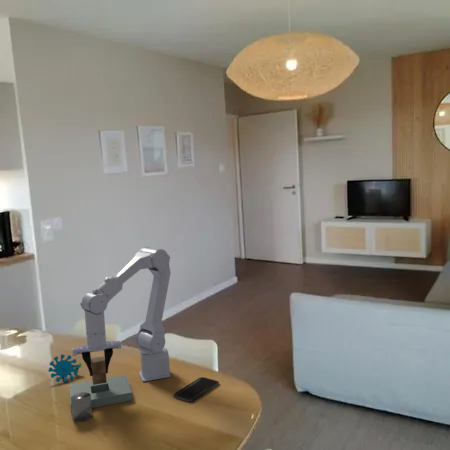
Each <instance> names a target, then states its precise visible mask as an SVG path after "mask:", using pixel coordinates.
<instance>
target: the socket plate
mask: <svg viewBox="0 0 450 450" xmlns="http://www.w3.org/2000/svg"><path fill="white" fill-rule="evenodd" d="M106 381H107V383H102V384H96V385H93V380H92V379H91V380H87V381H81V382H76V383H71V384H69V401H70V402H69V403H70V404H69V405H70V406H71V397H72V396H73V395H75V394H77V393H82V392H86V393H90V395H91V406H92V409H94V408H99V407H103V406H109V405H114V404H119V403H124V402H129V401H133V392H132V389H131V385H130V383H129V382H130V381H129V379H128V376H127V374H122V375H121V374H120V375H115V376H111V377H106ZM70 412H71V413H72V409H71V408H70Z"/></svg>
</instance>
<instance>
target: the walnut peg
mask: <svg viewBox="0 0 450 450" xmlns="http://www.w3.org/2000/svg"><path fill="white" fill-rule="evenodd" d="M91 368H92V376H91V381H92V380H93V385H96V384H102V383H107V381H106V378H107V373H106V367H105V357H104V355H103V356H99V357H93V358H92V357H91Z"/></svg>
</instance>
